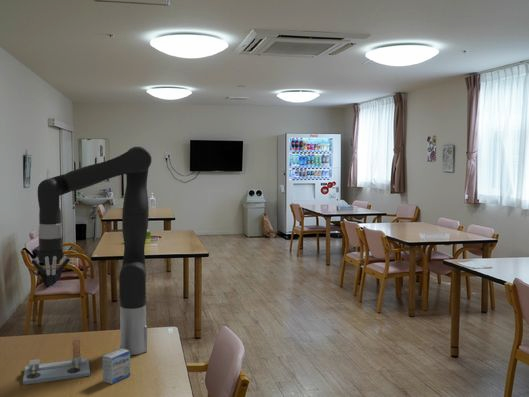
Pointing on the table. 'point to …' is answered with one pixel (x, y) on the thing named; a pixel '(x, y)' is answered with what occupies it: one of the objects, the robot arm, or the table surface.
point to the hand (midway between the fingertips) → (51, 285)
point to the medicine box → (116, 366)
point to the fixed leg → (34, 365)
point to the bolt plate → (56, 371)
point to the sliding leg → (76, 351)
